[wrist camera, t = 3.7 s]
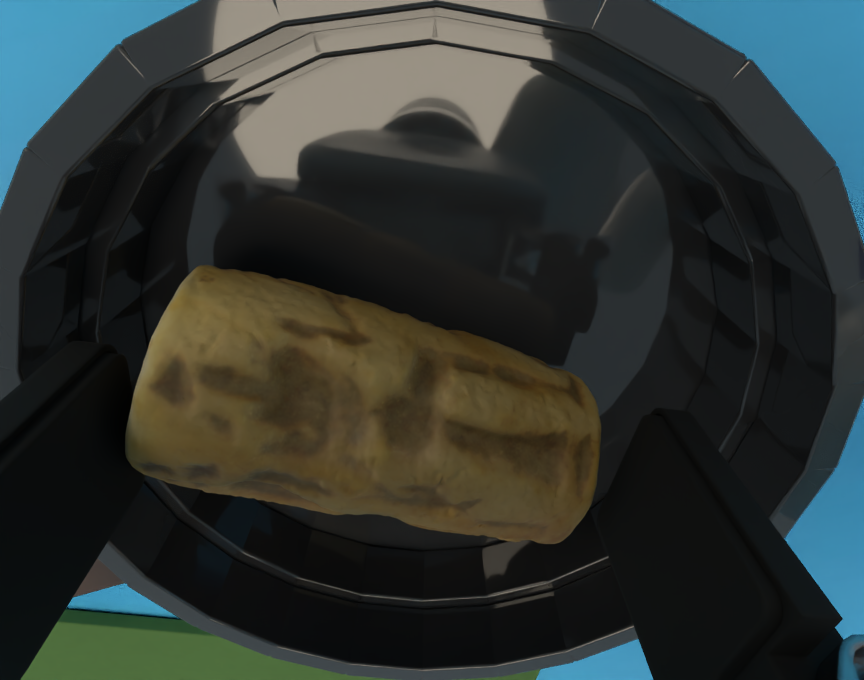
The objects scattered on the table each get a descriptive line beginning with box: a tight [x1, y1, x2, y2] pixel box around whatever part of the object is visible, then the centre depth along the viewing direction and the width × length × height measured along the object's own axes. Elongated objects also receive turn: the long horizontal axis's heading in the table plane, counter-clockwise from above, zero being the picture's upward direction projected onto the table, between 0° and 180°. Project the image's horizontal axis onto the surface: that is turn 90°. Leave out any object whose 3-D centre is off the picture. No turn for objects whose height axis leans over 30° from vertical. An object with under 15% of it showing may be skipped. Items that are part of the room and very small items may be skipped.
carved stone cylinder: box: [125, 265, 601, 544], centre depth 10 cm, size 8×4×4 cm, turn 68°
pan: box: [0, 0, 864, 680], centre depth 11 cm, size 15×15×4 cm
